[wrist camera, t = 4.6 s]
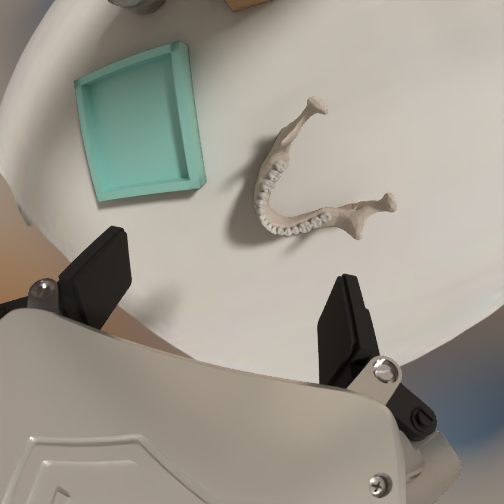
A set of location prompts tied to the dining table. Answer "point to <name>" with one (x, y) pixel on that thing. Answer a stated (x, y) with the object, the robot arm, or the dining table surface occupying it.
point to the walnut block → (243, 4)
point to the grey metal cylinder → (139, 5)
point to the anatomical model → (341, 217)
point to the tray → (141, 124)
